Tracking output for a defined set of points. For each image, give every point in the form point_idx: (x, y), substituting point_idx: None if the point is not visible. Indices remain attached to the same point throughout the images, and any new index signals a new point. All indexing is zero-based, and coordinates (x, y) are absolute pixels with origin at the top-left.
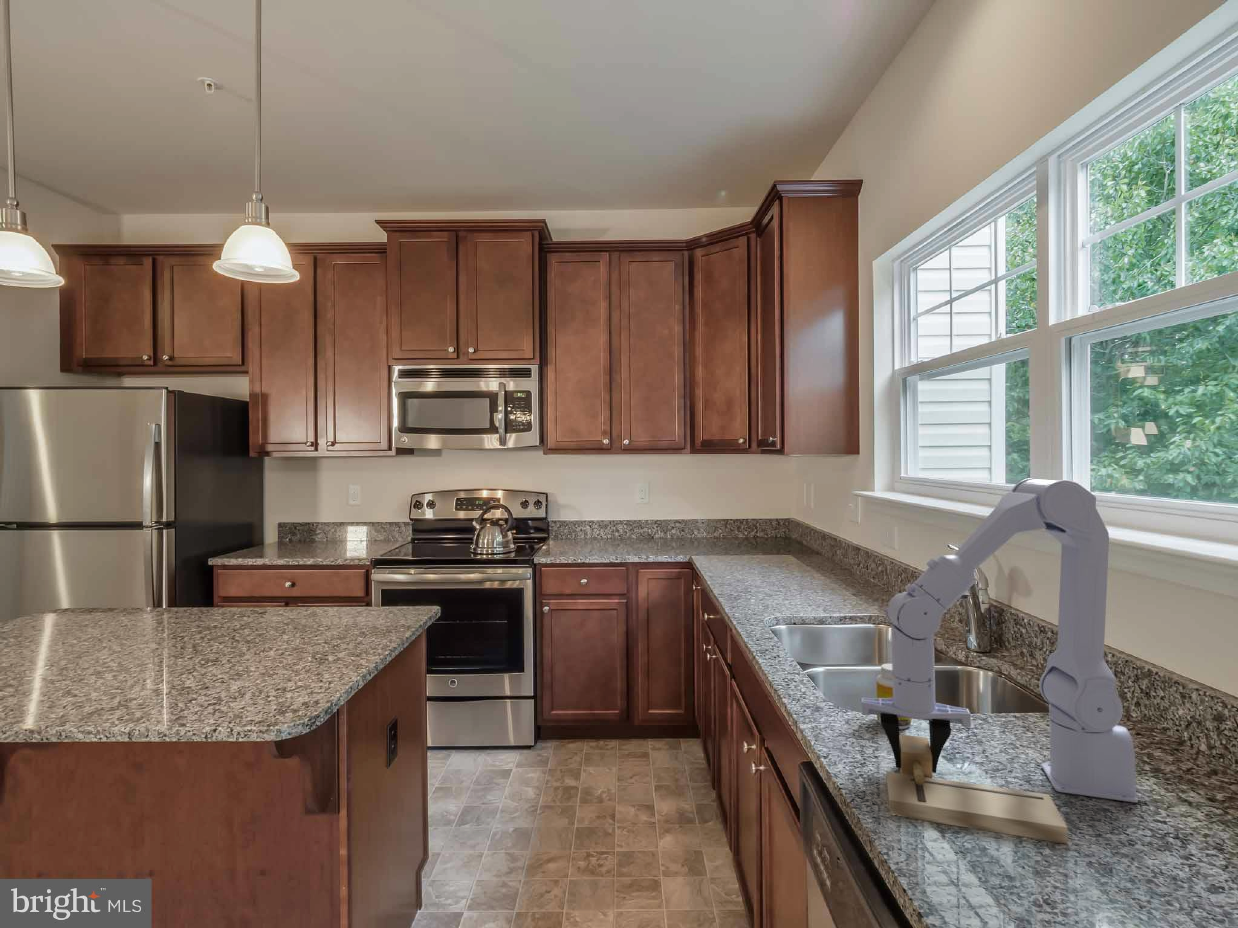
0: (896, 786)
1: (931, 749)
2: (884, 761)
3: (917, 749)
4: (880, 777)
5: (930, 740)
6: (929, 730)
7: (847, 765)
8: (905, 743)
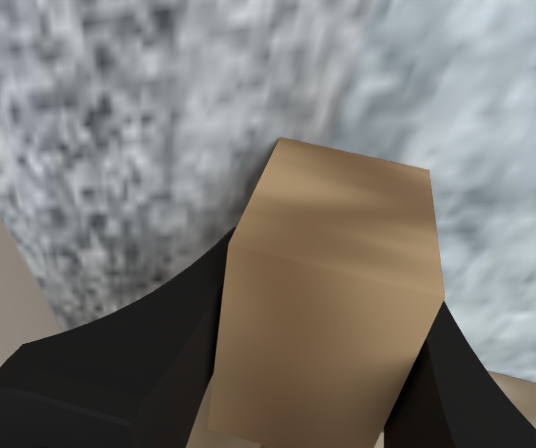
0: (200, 418)
1: (396, 411)
2: (208, 80)
3: (303, 418)
4: (175, 240)
5: (417, 400)
6: (442, 407)
7: (33, 143)
8: (249, 357)
